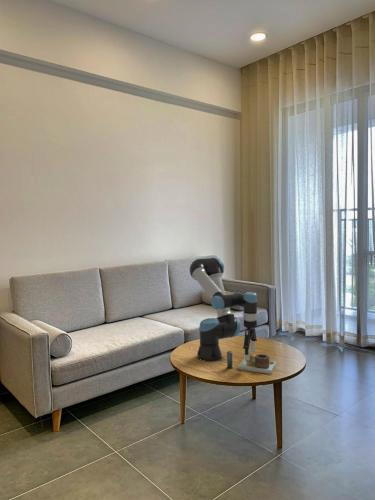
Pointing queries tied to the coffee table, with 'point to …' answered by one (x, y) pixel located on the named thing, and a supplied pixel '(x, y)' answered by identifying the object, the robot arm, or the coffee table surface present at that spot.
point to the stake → (229, 360)
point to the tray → (251, 368)
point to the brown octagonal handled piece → (258, 361)
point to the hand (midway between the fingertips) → (250, 355)
